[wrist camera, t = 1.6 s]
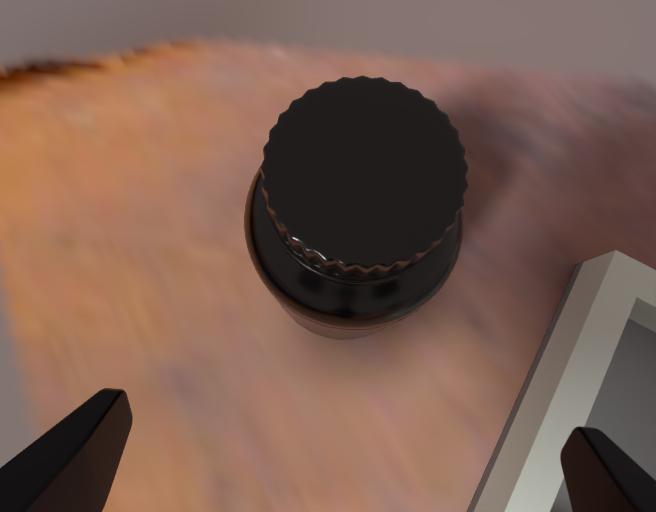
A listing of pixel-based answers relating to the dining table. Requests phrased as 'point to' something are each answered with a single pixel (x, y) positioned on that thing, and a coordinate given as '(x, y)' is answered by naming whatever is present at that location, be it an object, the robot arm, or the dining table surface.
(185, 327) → the dining table surface
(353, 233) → the supplement bottle
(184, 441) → the dining table surface
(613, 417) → the tray
